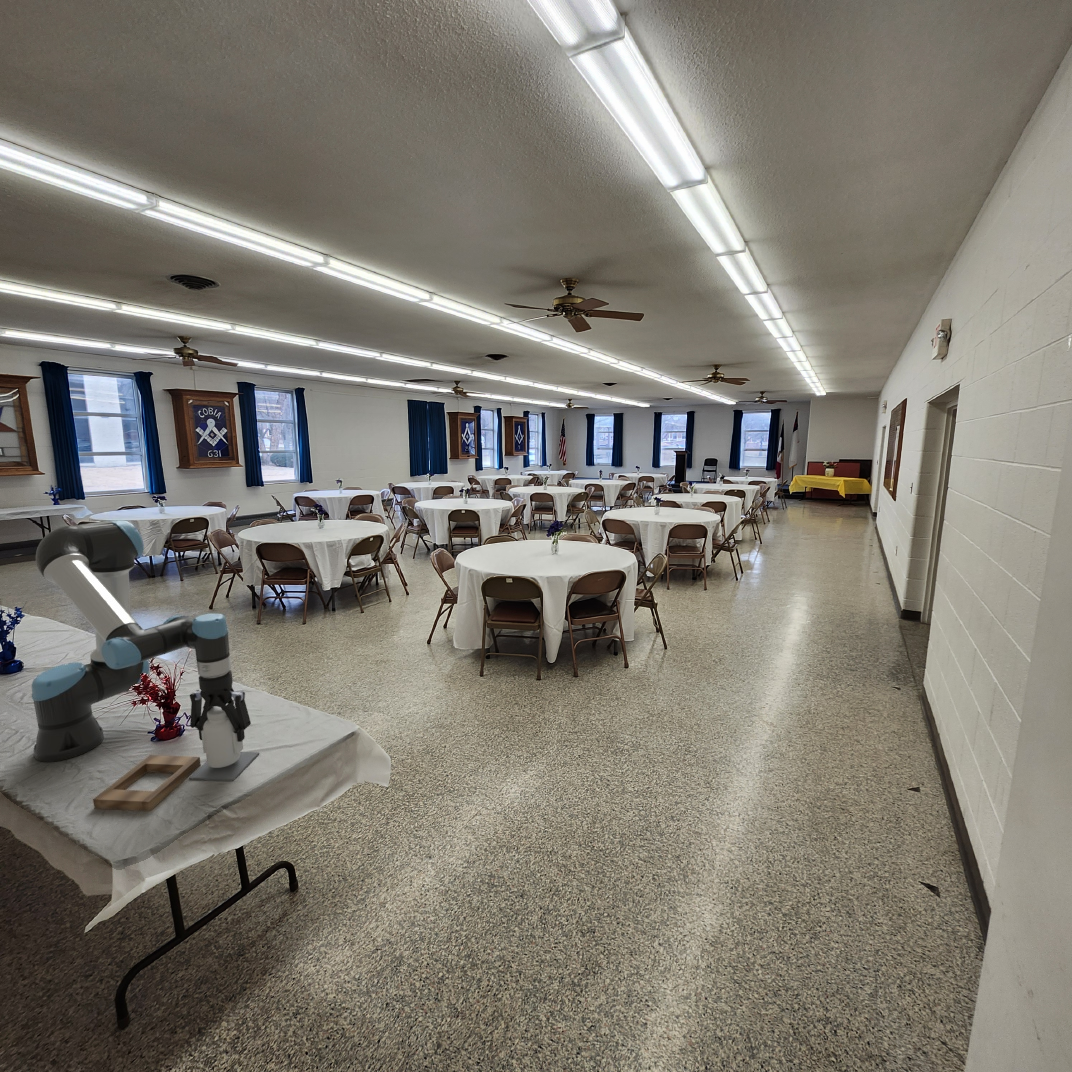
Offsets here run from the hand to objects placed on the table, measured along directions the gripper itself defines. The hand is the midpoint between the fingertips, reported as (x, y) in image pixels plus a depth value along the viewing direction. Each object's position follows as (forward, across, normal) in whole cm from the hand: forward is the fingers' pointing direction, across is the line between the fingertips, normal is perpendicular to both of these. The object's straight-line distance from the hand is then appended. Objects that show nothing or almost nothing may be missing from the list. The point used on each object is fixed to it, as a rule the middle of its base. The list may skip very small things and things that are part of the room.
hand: (223, 750), depth 143 cm
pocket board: (+5, -14, -9) cm, 17 cm away
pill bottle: (+3, 0, 0) cm, 3 cm away
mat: (+5, 0, 0) cm, 5 cm away
